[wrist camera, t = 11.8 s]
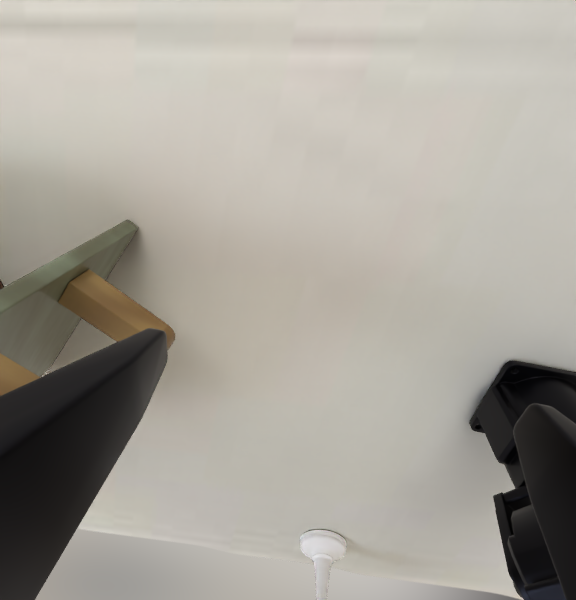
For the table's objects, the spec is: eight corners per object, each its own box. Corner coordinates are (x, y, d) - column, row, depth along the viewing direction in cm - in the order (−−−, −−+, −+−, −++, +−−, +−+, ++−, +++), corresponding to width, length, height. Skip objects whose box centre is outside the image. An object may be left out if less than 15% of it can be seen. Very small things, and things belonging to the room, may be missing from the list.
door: (215, 285, 23) (82, 484, 11) (112, 405, 30) (-36, 604, 18) (128, 218, 21) (-141, 365, 9) (41, 361, 28) (-173, 548, 16)
